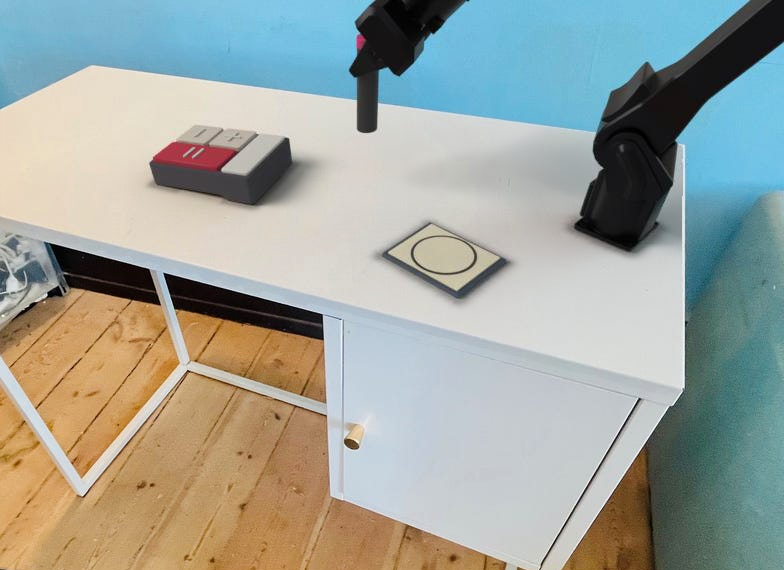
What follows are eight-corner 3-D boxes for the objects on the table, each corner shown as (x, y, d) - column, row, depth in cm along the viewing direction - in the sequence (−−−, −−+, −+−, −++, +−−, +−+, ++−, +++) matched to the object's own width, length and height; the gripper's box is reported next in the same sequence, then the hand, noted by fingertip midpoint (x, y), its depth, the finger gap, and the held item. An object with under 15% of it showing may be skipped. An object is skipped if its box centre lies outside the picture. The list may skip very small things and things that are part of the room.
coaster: (505, 262, 59) (507, 257, 58) (458, 298, 55) (459, 293, 55) (429, 225, 64) (430, 220, 64) (381, 256, 61) (382, 251, 60)
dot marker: (380, 125, 67) (382, 32, 60) (374, 134, 65) (376, 40, 58) (359, 123, 68) (359, 31, 61) (353, 132, 66) (353, 39, 59)
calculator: (193, 120, 78) (290, 131, 72) (200, 150, 81) (293, 163, 76) (145, 157, 71) (247, 172, 66) (155, 188, 74) (253, 205, 69)
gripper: (441, -145, 54) (337, -16, 66) (380, -112, 43) (266, 37, 54) (510, -46, 57) (399, 61, 69) (470, 10, 46) (345, 127, 57)
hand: (356, 69), depth 62 cm, fingers closed on dot marker, 2 cm apart
